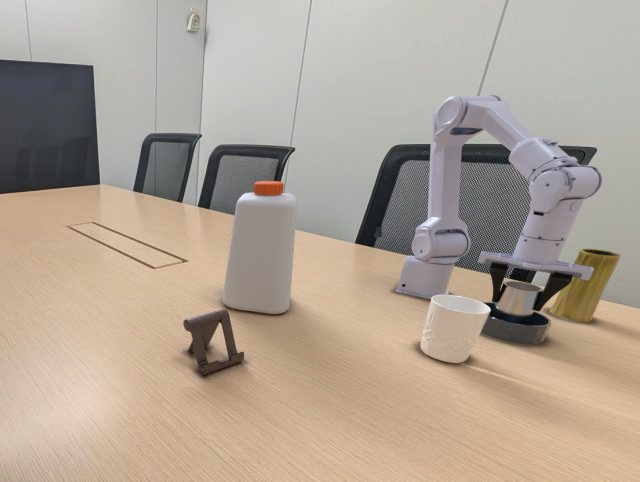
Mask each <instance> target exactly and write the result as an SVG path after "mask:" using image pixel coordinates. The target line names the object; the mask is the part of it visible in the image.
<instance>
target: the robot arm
mask: <svg viewBox="0 0 640 482" xmlns="http://www.w3.org/2000/svg"><path fill="white" fill-rule="evenodd" d="M509 106H510V103H509V102H508V101H506V100H504V99H503V98H502V97H501V96H500V95H497V94H490V95H469V96H466V95H465V96H464V95H463V96H461V95H453V96H449V97H448V98H446V99H445V100H444V101H443V102H442V103H441V104H440V106H439V107H438V108H437V109H436V111H435V112H434V113H433V121H432V122H433V124H432V125H433V126H432V137H431V139H430V152H429V177H428V197H427V198H428V200H427V218H426V220H425V221H424V222H422V223H421V224H419V225H418V226H417V227H416V228H415V235H414V237H413V239H412V242H411V250H412V254H413V255H407V256H406V258H405V259H404V262H403V265H402V268H401V272H400V276H399V279H398V283H397V286H396V289H395V292H396V293H401V294H405V295H409V296H414V297H418V298H423V299H427V300H431V298H432V297H433V296H435V295H450V291H448V290H447V289H448V286H449V283H450V280H451V278H452V274H453V272H454V269H455V265H456V262H459V261H460V258H462V257H464V256H466V255H467V254H468V253H469V251H470V250H471V246H472V242H471V241H472V240H471V238H470V236H469V232H468V225H467V224H466V223H465V221H463V219H461V218H459V212H460V210H459V207H460V192H461V191H460V189H461V169H462V151H463V150H462V149H463V146H464V145H465V144H466V143H468V141H470V140H472V139H473V138H475V137H476V136H478V135H479V134H481V133H482V132H484V131H486V132H487V133H488V134H489V135H490V136H491V137H493V138H494V139H495V140H496V141H498V142H499V143H500V144H501V145H503V147H505V148H506V149H507V150H509V151H510V154H509V156H508V162H509V163H510V164H511V165H512V166H513V167H514V168H515V170H517V171H518V172H519V173H520V174H521V175H522V177H524V178H525V179H526V180H527V181H528V182H529V185H528V193H529V195H530V197H531V199H530V203H529V205H528V207H530V208H529V209H530V210H529V212H528V215H527V218H526V220H525V223H524V225H523V228H522V230H521V233H520V236H519V238H518V240H517V242H516V245H515V248H514V250H513V253H506V252H505V253H504V252H493V251H492V252H491V251H484V250H482V251H481V252H480V254H479V257H478V260H477V263H479V264H489V265H490V266H489V274H490V278H491V283H492V298H491V302H497V299H498V296H499V293H500V290H501V288H502V285H503V283H504V280H505V277H506V275H507V272H508V269H509V268H516V269H522V270H528V271H533V272H538V273H539V272H540V273H547V274H549V276H548V278H547V280H546V283H545V286H544V288H543V292H542V294H541V297H540V299H539V301H538V303H537V305H536V307H535V310H534V311H535V312H538V313H541V310H542V309H543V308H544V306H545V305H546V304H547V303H548V302H549V301H550V300H551V299H552V298H553V297H554V296H555V295H556V294H557V293H558V294H559V292H560V291H561V290H562V289H563V288H565V287H566V286H568V285H569V284H570V283H571V281H572V277H577V278H580V279H583V280H589V279H590V277H591V275H592V273H593V271H594V269H593V267H588V266H582V265H576V264H574V263H572V262H566V261H560V260H559V257H560V255H561V253H562V251H563V249H564V246H565V243H566V242H567V239H568V237H569V235H570V233H571V230H572V228H573V226H574V224H575V221H576V219H577V217H578V215H579V212H580V210H581V208H582V206H583V203H584V201H585V200H587V199H589V198H591V197H593V196H594V195H595V194H597V193H598V191H599V190H600V189H601V187H602V185H603V175H602V173H601V172H600V171H599V169H598V167H597V166H594V165H590V164H585V165H584V164H579V163H578V158H576V157H575V156H570V155H568V154H567V153H566V152H565V151H564V150H563V149H562V148H560V147H559V146H558V144H559V140H558V139H557V138H555V137H548V136H536V137H534V135H533V134H532V133H531V132H530V131H529V130H528V129H527V128H526V127H525V126H524V125H523V124H522V122H521V121H520V120H519V119H518V118H517V117H516V116H515V114H514V113H512V111H511V110H510V109H509Z"/></svg>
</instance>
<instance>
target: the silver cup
mask: <svg viewBox="0 0 640 482" xmlns="http://www.w3.org/2000/svg"><path fill="white" fill-rule="evenodd" d="M543 290H544V288H542V287H541V286H539V285H536V284H533V283H529V282H524V281H518V280H515V281H514V280H506V281H503V283H502V285H501V289H500V293H499V296H498V299H497V302H496V303H495V305H494V308H493V311H492V313H491V317H493V318H496V319H499V320H502V321H506V322H510V323H515V324H521V325H528V324H529V321H530V319H531V317H532V315H533V312H534V310H535V307H536V305H537V303H538V301H539V299H540V297H541V294H542V292H543Z"/></svg>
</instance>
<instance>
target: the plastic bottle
mask: <svg viewBox="0 0 640 482" xmlns="http://www.w3.org/2000/svg"><path fill="white" fill-rule="evenodd" d="M284 187H285V184H284V182H282V181H277V180H261V181H260V180H259V181H256V182H254V184H253V192H245V193H243V194H242V195H241V196H240V197H239V198H238V200H237V202H236V205H235V211H234V217H233V224H232V229H231V230H232V231H231V236H230V243H229V250H228V256H227V263H226V269H225V276H224V281H223V289H222V295H221V300H222V302H223V304H224V305H225V306H227V307H228V308H231V309H233V310H239V311H245V312H246V311H247V312H253V313H260V314H268V315H279V314H282V313H286V312H287V311H288V310H289V309H290V306H291V295H292V293H291V292H292V277H293V266H294V265H293V264H294V251H295V239H296V238H295V237H296V223H297V210H298V201H297V197H296V196H295V195H294V194H292V193H285V192H284Z"/></svg>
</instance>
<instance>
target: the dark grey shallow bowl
mask: <svg viewBox="0 0 640 482" xmlns="http://www.w3.org/2000/svg"><path fill="white" fill-rule="evenodd" d="M482 303H484V304H486V305H487V306H489V307H490V309H491V311H490V313H489V316H488V318H487V320H486V322H485V324H484V326H483V329H482V331H481V333H480V334H483V335H486V336H489V337H491V338H495V339H497V340H500V341H505V342H510V343H515V344H524V345H536V344H541V343H543V342H544V341H545V340H546V337H547V335H548V333H549V331H550V328H551V326H552V320H551V319H550V318H549V317H548V316H546V315H544V314H542V313H541V312H538V311H534V312H533V315H532V317H531V319H530V321H529V324H528V325H521V324H515V323H510V322H506V321H502V320H499V319H496V318H493V317H491V313H492V311H493V308H494V305H495V303H496V302H492V301H485V302H482Z"/></svg>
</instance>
